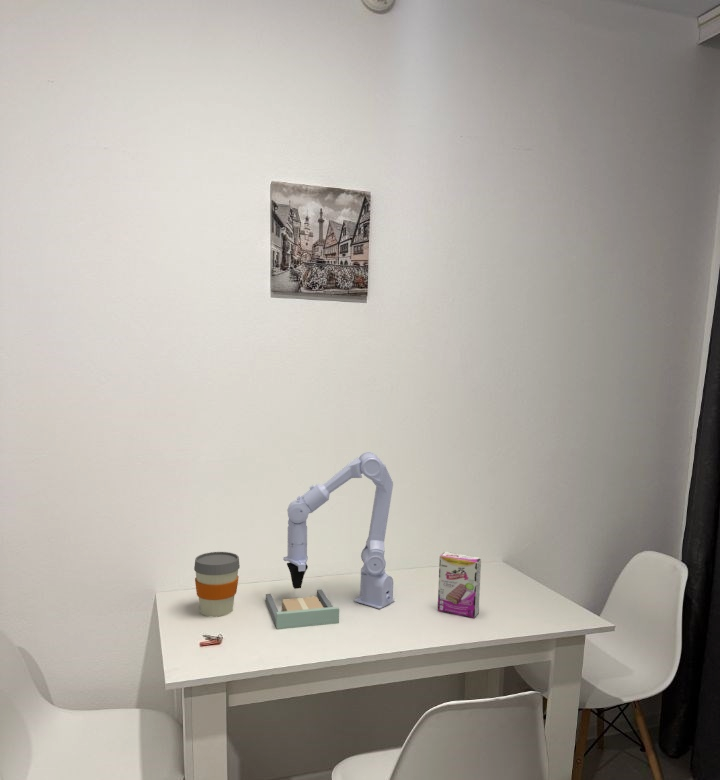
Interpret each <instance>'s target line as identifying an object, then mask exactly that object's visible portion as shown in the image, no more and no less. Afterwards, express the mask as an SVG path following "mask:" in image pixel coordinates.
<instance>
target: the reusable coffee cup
mask: <svg viewBox="0 0 720 780" xmlns="http://www.w3.org/2000/svg"><path fill="white" fill-rule="evenodd" d="M194 560H195V561H194V566H193V567H194V568H193V569H194V572H195V576H196V577H195V578H194V583H195V591H196V596H197V597H198V603H199V612H200V614H201V615H203V616H204V617H205V616H206V617H209V616H213V617H214V618H217V617H223V616H226V615H228V614H231V613H232V612H233V608H234V601H235V596H236V594H237V590H238V586H239V585H238V584H239V574H238V573H239V569H240V557H239V556H238V554H236V553H233V552H229V551H228V552H227V551H212V552H211V551H210V552H206V553H202V554H200V555H197V556H196V557H195V558H194ZM216 616H217V617H216ZM213 617H212V618H213Z"/></svg>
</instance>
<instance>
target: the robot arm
mask: <svg viewBox="0 0 720 780" xmlns="http://www.w3.org/2000/svg"><path fill="white" fill-rule="evenodd" d="M362 475H363V476H364V477H366V478H368V479H369V480H371V482H372V483H373V484H374V485H375V491H374V492H375V493H374V499H373V506H372V512H371V518H370V524H369V525H370V526H369V531H368V537H367V539H366V542H365V546H364V548H363V549H362V551H361V553H360V558H361V561H362V563H363V566H362V567H361V568H360V590H359V597H357V598H354V599H353V602H355V603H359V604H362V605H364V606H365V605H366V606H368V607H372V608H375V609H379V610H380V609H383V608H384V607H386V606H388V605H390V604H392V603H393V602H395V599H394V578H393V577H392V576H391V575H389V574H388V573H386V570H385V569H386V567H387V566H386V563H387V562H386V559H385V538H386V533H387V526H388V521H389V513H390V507H391V501H392V493H393V488H394V481H393V479H392V478H391V477H392V476H391V475H390V473H389V471H388V468H387V467H386V464H384V462H383V461H382V460H381V459H380V458H379V457H378V456H377V455H376V454H375V453H373V452H371V451H368V452H367V451H366V452H363V453H362V454H360V456H359V457H356V458H354V459H353V460H352V461H350V462H349V463H347V464H346V465H345V466H344V467H343V468H342V469H340V470H339V471H338V472H337V473H336V474H335V475H333V476H332V477H331V478H329V479H328V480H327V481H326V482H325V483H323V484H320V483H318V484H317V483H316V484H315V485H313V484H312V485H311V486H309V490H308V491H306V492H305V493H303V494H302V495H301V496H300V495H299V496H297V497H296V500H293V501H291V502H290V503H289V505H288V507H287V509H286V510H287V518H288V520H287V525H288V526H287V556H283V557H282V558H283V559H282V560H283V561H284V562H286V566H287V568H288V570H289V574H290V578H291V583H292V587H293V589H295V590H296V589H302V587H303V586H302V585H303V581H304V576H305V574H306V571H307V570H308V564H307V562H308V526H307V520H308V517H309V514H313V513H314V512H315V511H316V510H318V509H319V508H320V507H321V506H322V505H324V504H325V503H326V502H328V501H329V500H330V494H331V493H333V492H335V490H337V489H338V488H340V487H342V486H343V485H344V484H346V482H349V481H350V480H351V479H362V478H363V476H362Z"/></svg>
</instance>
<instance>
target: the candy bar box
mask: <svg viewBox="0 0 720 780" xmlns="http://www.w3.org/2000/svg"><path fill="white" fill-rule="evenodd" d="M481 567H482V558H481V557H478V556H473V555H468V554H467V555H466V554H460V553H456V552H449V551H444V552H443V553H441V554H440V555H439V568H438V573H439V574H438V590H437V591H438V594H437V595H438V596H437V598H438V599H437V612H441V613H447V614H451V615H452V614H453V615H458V616H462V617H466V618H473V619H475V618H476V616H478V614H479V612H480V591H481V589H480V588H481V571H482V570H481Z"/></svg>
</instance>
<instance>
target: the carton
mask: <svg viewBox="0 0 720 780" xmlns="http://www.w3.org/2000/svg"><path fill="white" fill-rule="evenodd" d="M316 608H324V607H323V606H322V604H321V602H320V601H319V599H318V597H317V595H316V596H315V595H314V596H306V597H295V598H293V597H292V598H286V599H285V598H284V599H281V612H284V611H295V610H305V609H316Z"/></svg>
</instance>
